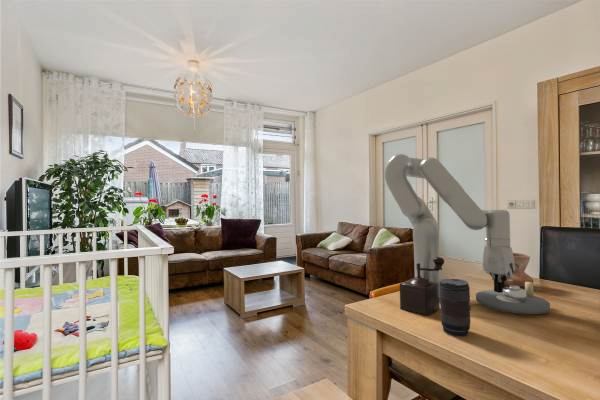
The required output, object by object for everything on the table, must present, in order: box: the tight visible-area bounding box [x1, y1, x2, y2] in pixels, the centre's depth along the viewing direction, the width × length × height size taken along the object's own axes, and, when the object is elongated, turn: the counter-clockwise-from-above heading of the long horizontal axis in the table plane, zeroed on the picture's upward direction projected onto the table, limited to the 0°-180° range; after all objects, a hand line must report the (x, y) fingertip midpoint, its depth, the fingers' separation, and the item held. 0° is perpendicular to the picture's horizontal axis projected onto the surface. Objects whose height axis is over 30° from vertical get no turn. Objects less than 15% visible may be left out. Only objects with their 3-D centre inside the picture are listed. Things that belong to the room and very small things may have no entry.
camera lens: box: [439, 278, 472, 338], centre depth 92 cm, size 8×8×15 cm
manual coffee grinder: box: [399, 256, 445, 317], centre depth 114 cm, size 16×11×18 cm
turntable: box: [475, 282, 551, 315], centre depth 112 cm, size 22×22×6 cm
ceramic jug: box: [505, 252, 534, 289], centre depth 139 cm, size 18×14×14 cm
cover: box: [502, 285, 527, 303], centre depth 111 cm, size 7×7×5 cm
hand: (499, 291), depth 116 cm, fingers closed
